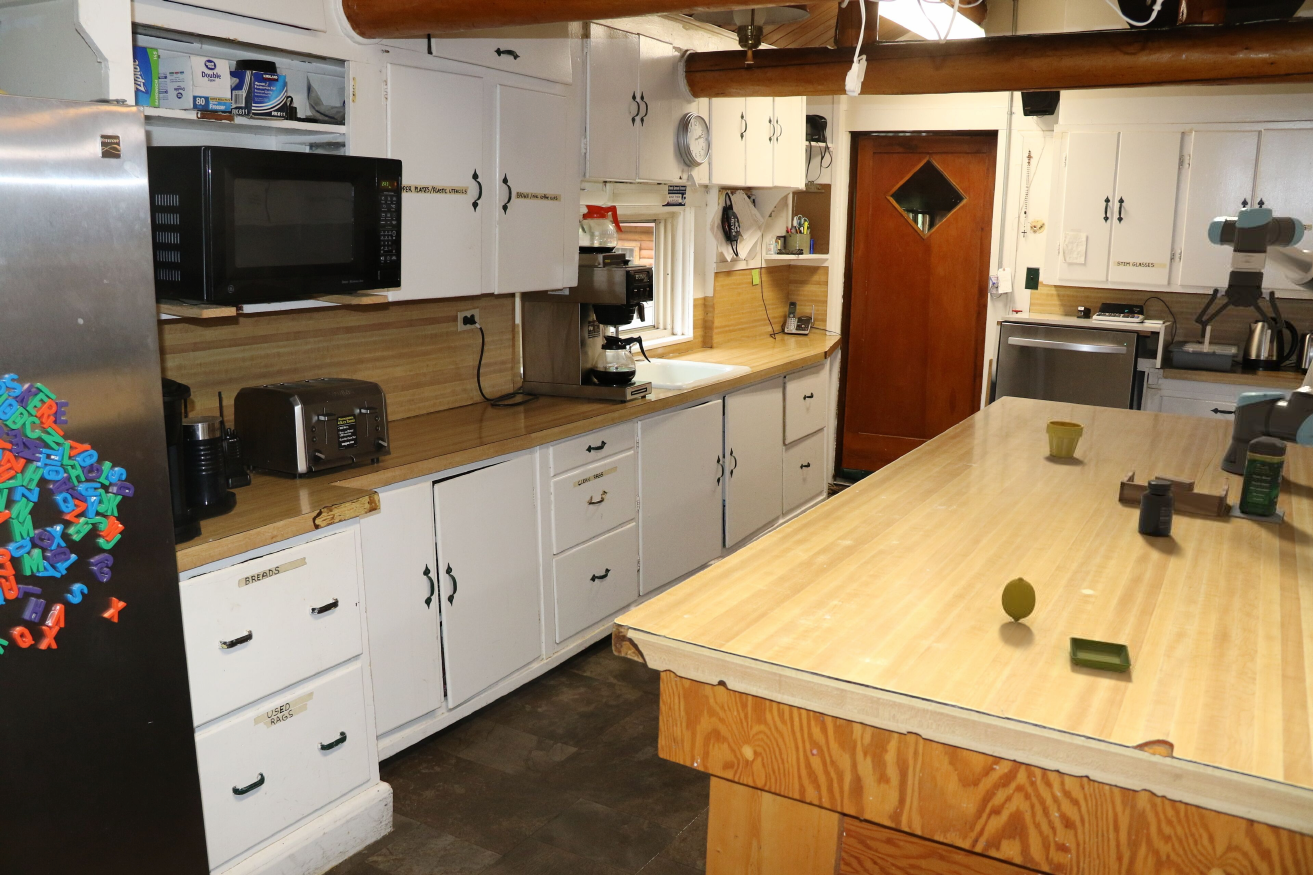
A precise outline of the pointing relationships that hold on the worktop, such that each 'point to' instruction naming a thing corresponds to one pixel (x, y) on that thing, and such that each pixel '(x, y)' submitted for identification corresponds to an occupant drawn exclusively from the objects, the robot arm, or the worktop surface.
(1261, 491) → the coffee jar
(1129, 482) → the wooden open enclosure
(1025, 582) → the lemon
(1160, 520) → the supplement bottle
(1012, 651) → the worktop surface
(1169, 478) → the offcut top
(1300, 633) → the worktop surface
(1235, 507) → the mat
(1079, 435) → the plant pot
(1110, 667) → the green tray
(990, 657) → the worktop surface
